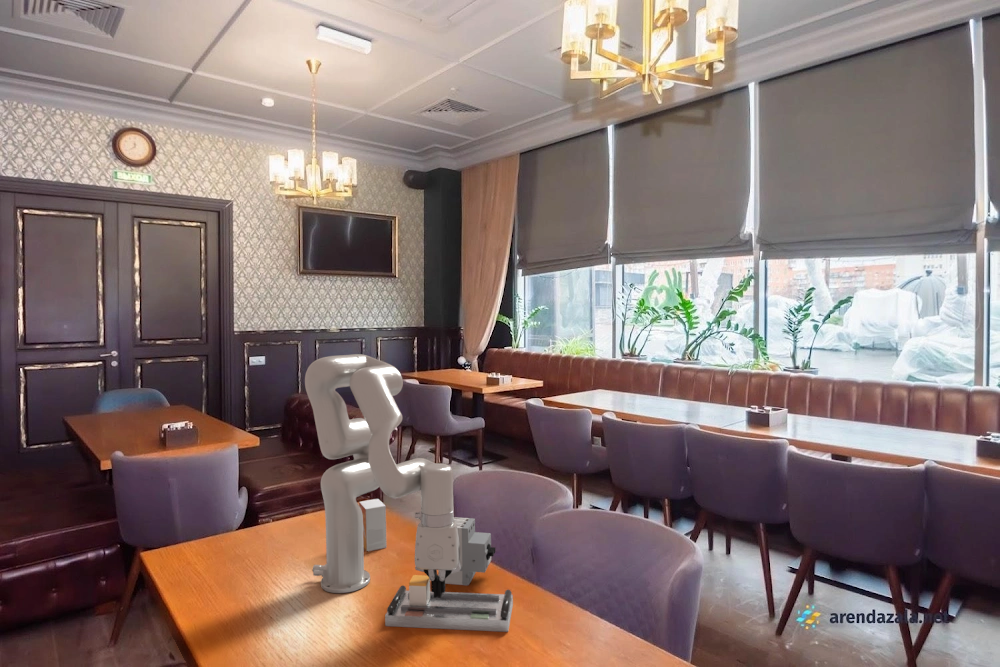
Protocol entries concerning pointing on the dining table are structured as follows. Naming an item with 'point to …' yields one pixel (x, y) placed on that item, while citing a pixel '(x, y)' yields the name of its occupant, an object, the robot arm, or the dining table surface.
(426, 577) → the toggle
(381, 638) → the dining table surface
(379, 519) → the small box
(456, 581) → the circuit breaker
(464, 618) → the panel
